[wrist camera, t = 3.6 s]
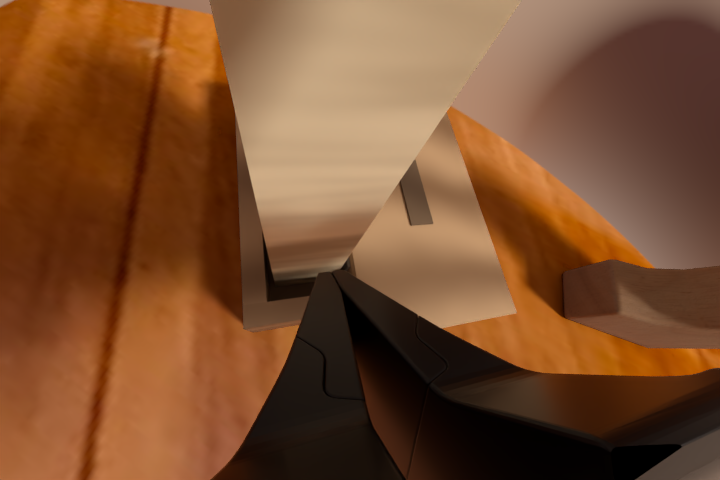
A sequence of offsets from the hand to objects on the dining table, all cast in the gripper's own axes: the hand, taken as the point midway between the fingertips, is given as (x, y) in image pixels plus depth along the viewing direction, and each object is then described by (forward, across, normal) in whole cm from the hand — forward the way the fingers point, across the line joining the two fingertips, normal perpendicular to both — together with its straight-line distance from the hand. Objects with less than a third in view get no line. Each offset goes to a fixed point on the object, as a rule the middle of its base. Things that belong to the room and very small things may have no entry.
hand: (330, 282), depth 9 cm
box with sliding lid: (+13, -4, +2) cm, 14 cm away
